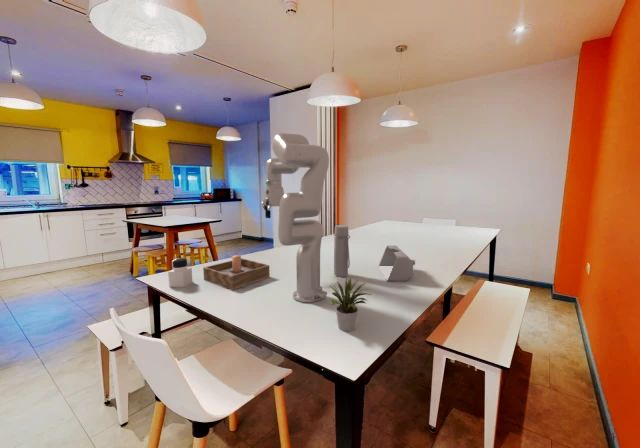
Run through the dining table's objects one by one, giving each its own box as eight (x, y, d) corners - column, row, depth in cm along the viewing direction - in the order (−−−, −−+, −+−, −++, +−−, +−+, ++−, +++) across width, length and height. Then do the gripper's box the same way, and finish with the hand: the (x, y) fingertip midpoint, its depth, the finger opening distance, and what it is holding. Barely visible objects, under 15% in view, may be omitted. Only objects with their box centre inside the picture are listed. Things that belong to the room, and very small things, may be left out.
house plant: (341, 346, 80) (342, 291, 77) (313, 326, 91) (313, 277, 89) (376, 331, 88) (378, 281, 86) (347, 315, 99) (347, 269, 97)
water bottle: (330, 275, 143) (330, 226, 139) (341, 271, 148) (341, 224, 145) (343, 279, 136) (344, 228, 133) (354, 276, 141) (355, 226, 138)
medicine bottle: (192, 282, 132) (191, 257, 131) (184, 287, 125) (182, 261, 124) (178, 281, 133) (176, 256, 131) (168, 287, 126) (166, 260, 124)
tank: (421, 282, 132) (422, 256, 131) (386, 282, 133) (387, 256, 131) (407, 267, 157) (408, 245, 155) (378, 266, 158) (378, 244, 156)
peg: (243, 276, 138) (242, 256, 137) (236, 278, 135) (235, 257, 133) (238, 274, 140) (237, 254, 139) (231, 276, 137) (230, 256, 136)
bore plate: (257, 275, 139) (257, 270, 138) (233, 283, 128) (233, 277, 128) (240, 270, 147) (240, 265, 147) (216, 277, 136) (215, 272, 136)
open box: (269, 277, 140) (269, 265, 139) (231, 290, 122) (230, 276, 122) (241, 268, 153) (241, 258, 152) (204, 279, 136) (203, 267, 135)
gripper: (266, 184, 137) (267, 219, 140) (291, 184, 151) (291, 216, 153) (256, 184, 142) (257, 218, 144) (281, 184, 155) (281, 215, 158)
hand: (275, 217), depth 149 cm, fingers open, 9 cm apart
